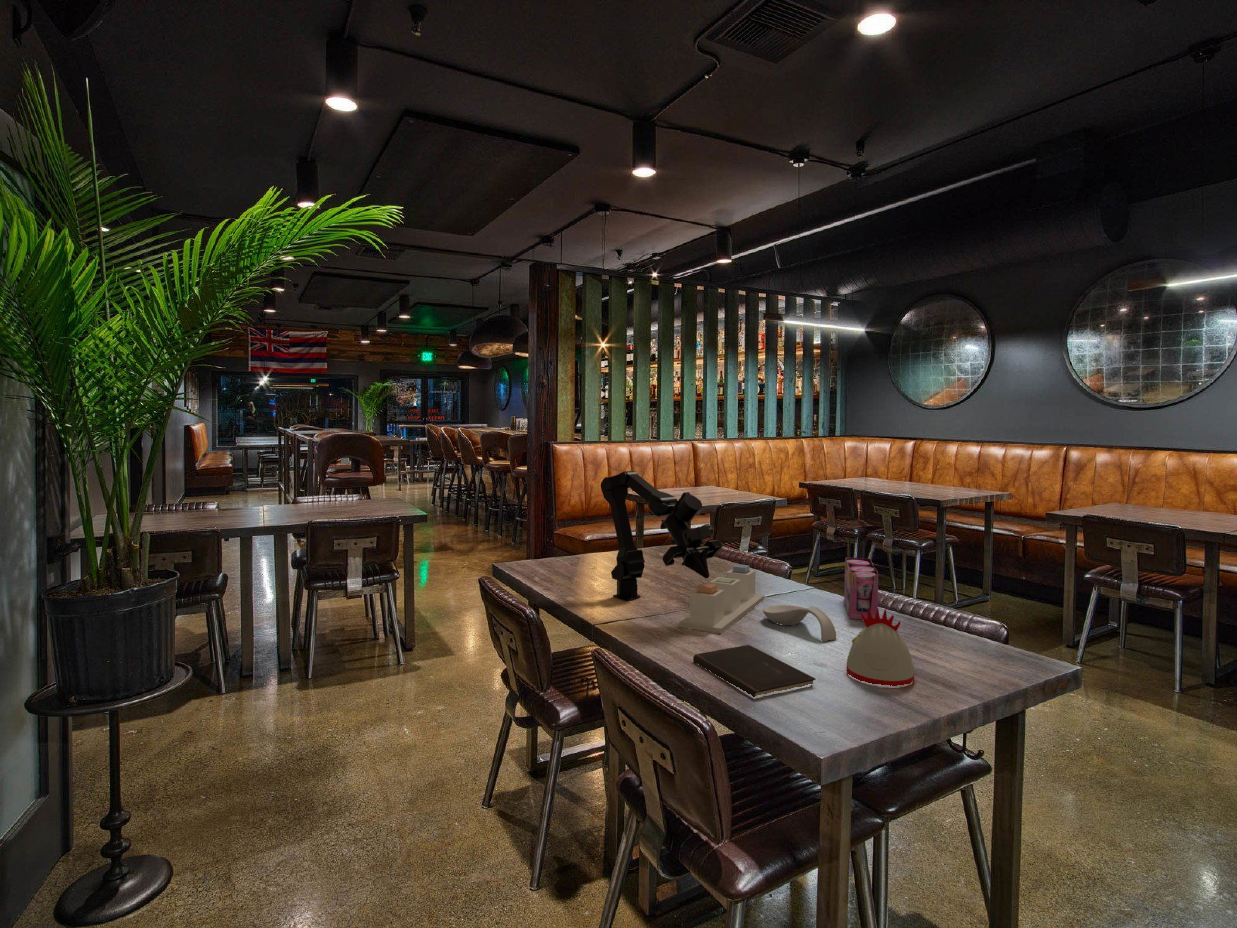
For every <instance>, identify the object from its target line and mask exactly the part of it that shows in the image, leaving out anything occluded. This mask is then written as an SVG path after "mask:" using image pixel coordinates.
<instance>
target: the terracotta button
mask: <svg viewBox="0 0 1237 928" xmlns="http://www.w3.org/2000/svg"><path fill="white" fill-rule="evenodd" d="M697 589H698V593H704V594H711V595H713V594H715V593H716V592H717V585H715V584H710V583H708V582H702V583H700V584H699V585H698V586H697Z"/></svg>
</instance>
